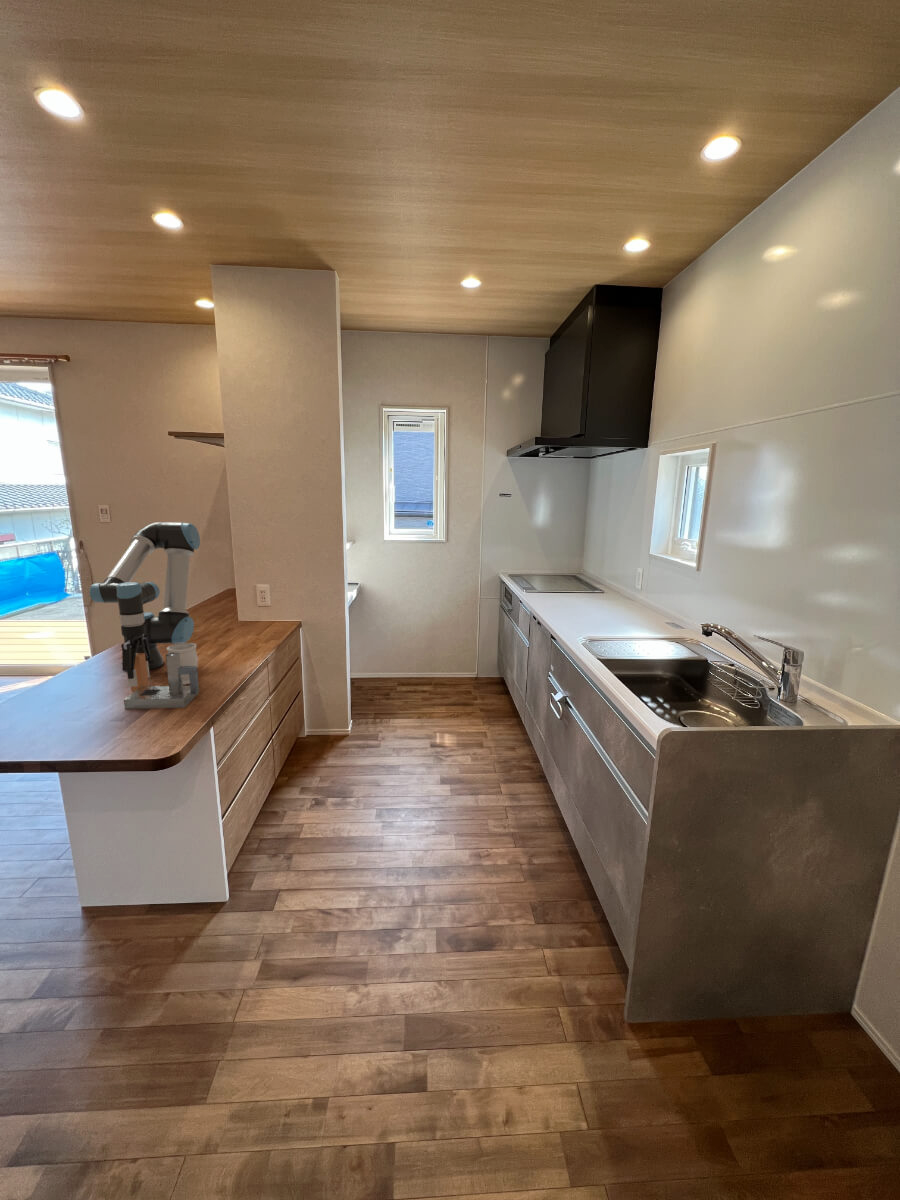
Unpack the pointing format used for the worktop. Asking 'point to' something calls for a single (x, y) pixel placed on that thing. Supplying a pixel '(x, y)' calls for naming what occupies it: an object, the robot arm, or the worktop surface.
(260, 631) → the worktop surface
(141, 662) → the orange square bar
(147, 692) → the plate with square hole
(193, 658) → the jar
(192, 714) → the worktop surface
